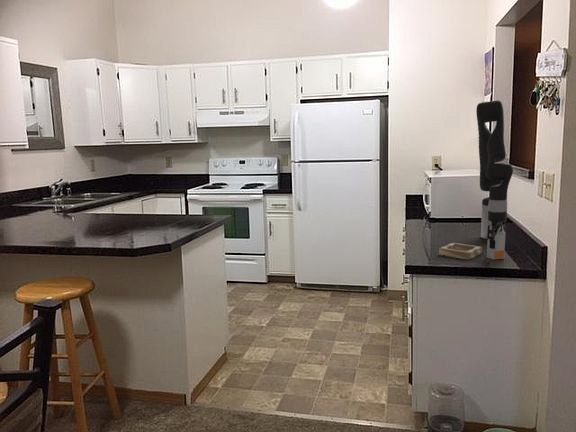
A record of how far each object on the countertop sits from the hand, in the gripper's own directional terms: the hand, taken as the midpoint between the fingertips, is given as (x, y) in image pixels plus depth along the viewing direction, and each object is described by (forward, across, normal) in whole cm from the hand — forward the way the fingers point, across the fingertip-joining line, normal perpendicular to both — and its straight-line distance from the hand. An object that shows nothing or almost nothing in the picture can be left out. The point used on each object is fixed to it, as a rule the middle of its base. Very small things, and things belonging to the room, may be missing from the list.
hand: (496, 246), depth 213 cm
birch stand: (+5, +2, -15) cm, 16 cm away
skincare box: (+5, 0, 0) cm, 5 cm away
